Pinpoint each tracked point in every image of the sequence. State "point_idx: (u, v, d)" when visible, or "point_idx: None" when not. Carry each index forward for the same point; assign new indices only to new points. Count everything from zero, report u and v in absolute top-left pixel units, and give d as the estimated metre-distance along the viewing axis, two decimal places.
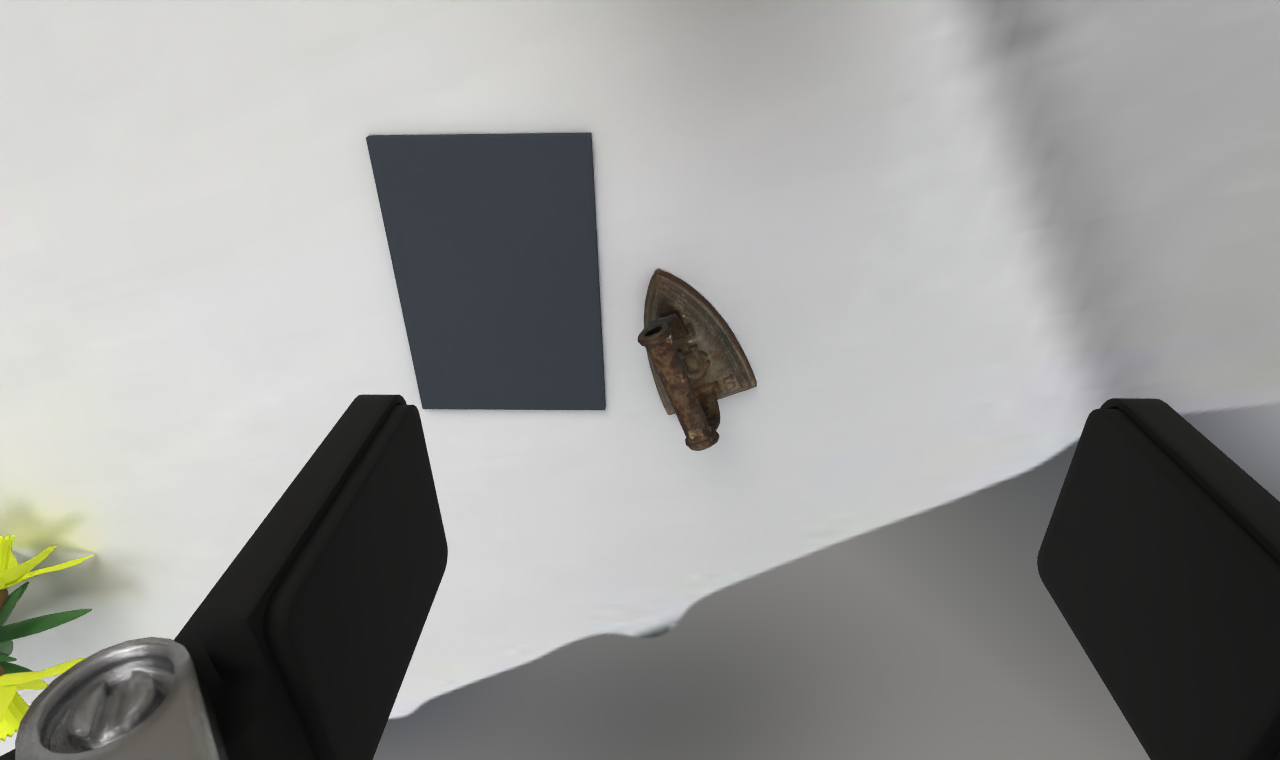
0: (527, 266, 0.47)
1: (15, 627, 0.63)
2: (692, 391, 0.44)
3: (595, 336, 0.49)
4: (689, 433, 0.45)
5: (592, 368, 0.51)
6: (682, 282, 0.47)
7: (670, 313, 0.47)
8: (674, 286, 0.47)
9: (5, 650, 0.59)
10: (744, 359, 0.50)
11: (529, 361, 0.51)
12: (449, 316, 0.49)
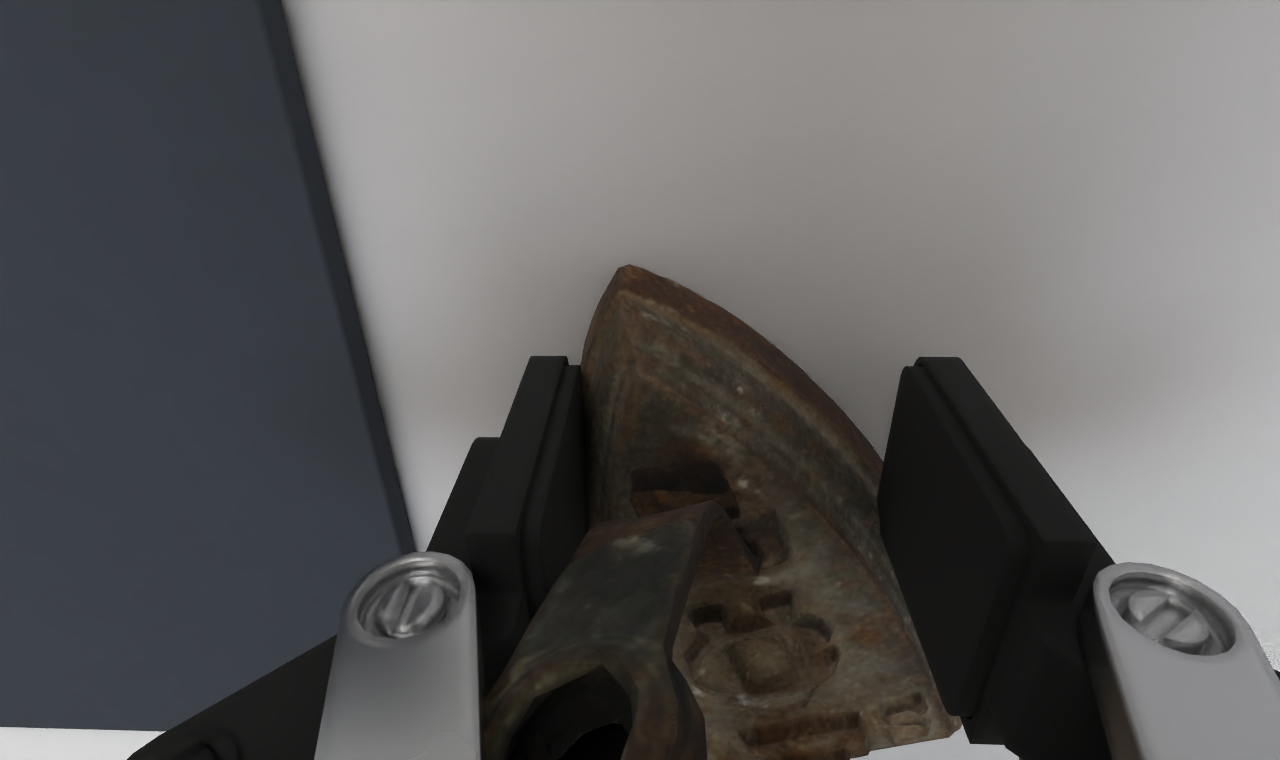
0: (8, 255, 0.10)
1: None
2: None
3: (373, 531, 0.13)
4: None
5: None
6: (736, 326, 0.11)
7: (681, 471, 0.10)
8: (701, 348, 0.10)
9: None
10: None
11: (152, 605, 0.14)
12: None
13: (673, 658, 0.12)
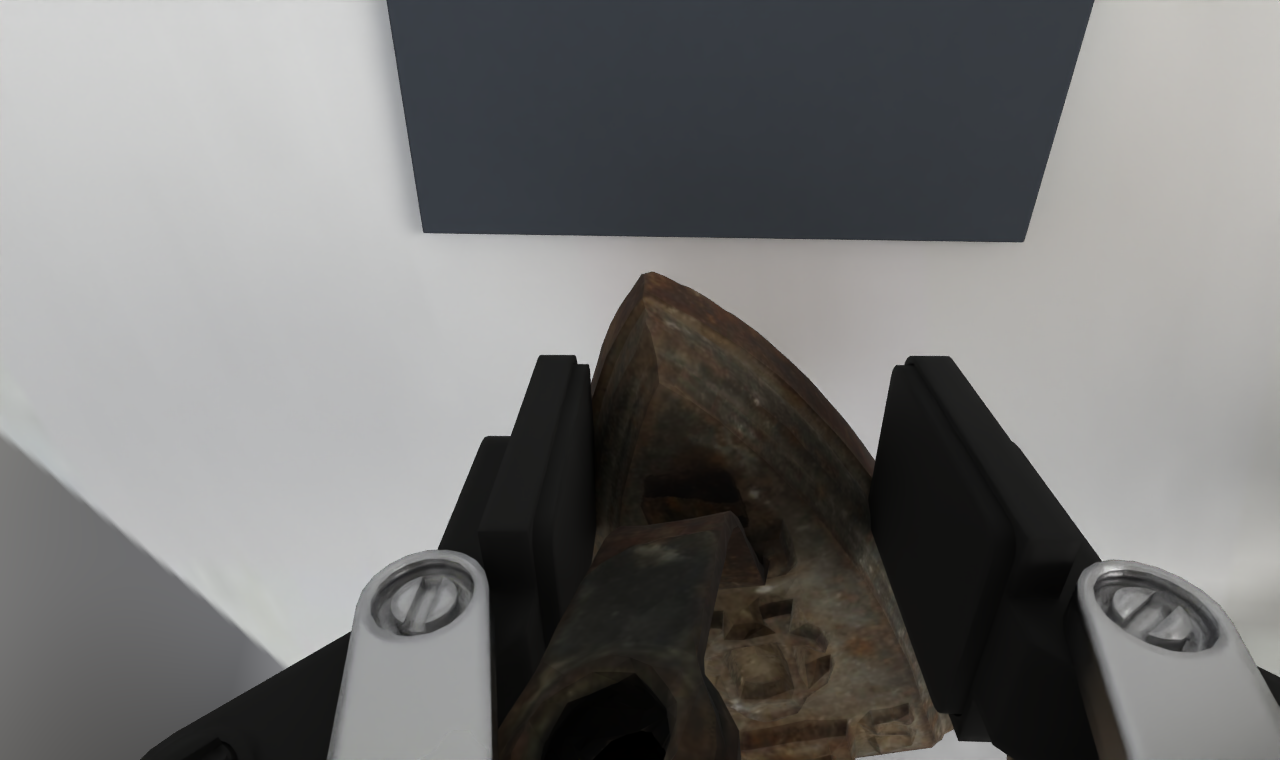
0: (779, 86, 0.21)
1: None
2: None
3: (606, 224, 0.23)
4: None
5: (527, 213, 0.23)
6: (754, 338, 0.11)
7: (694, 479, 0.10)
8: (720, 359, 0.10)
9: None
10: None
11: (534, 61, 0.21)
12: None
13: None
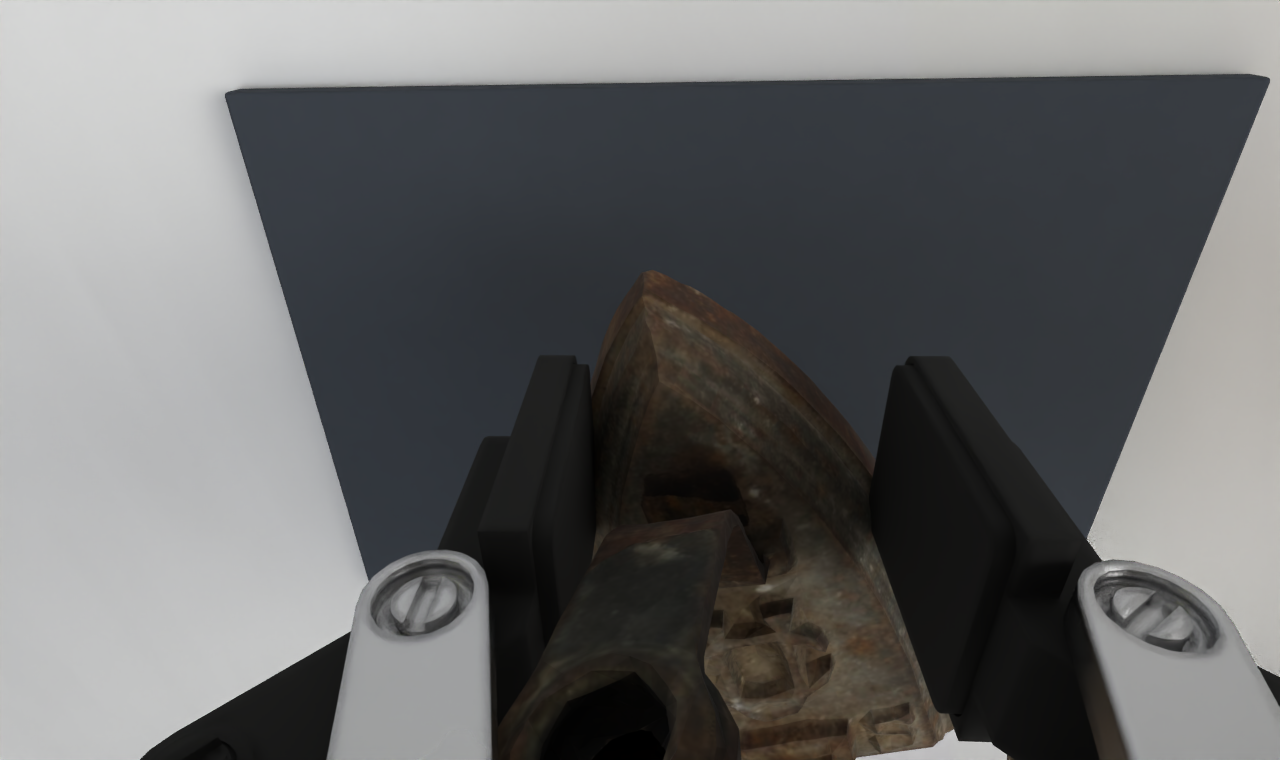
0: None
1: None
2: None
3: None
4: None
5: None
6: (754, 336, 0.11)
7: (694, 478, 0.10)
8: (720, 356, 0.10)
9: None
10: None
11: None
12: (619, 252, 0.15)
13: None
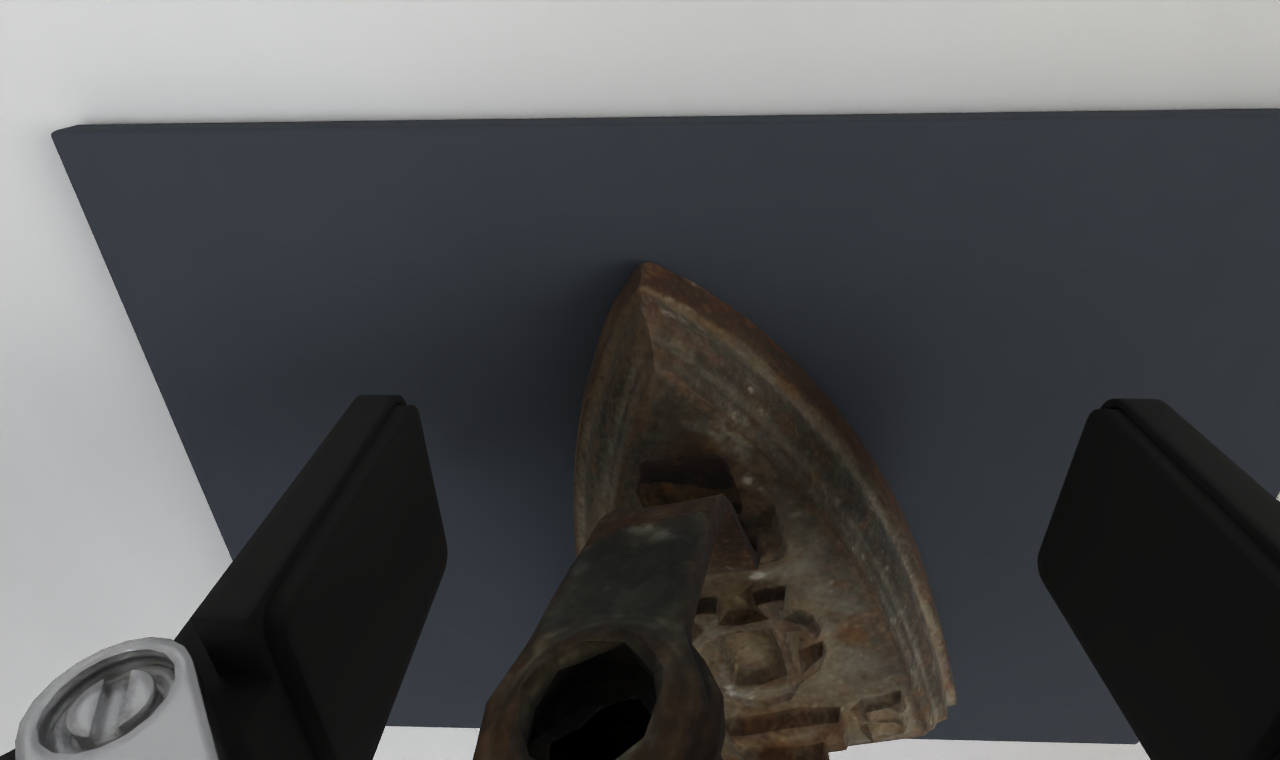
0: None
1: None
2: None
3: None
4: None
5: (441, 709, 0.17)
6: (749, 328, 0.11)
7: (688, 465, 0.10)
8: (715, 347, 0.10)
9: None
10: (939, 624, 0.13)
11: None
12: (594, 337, 0.11)
13: None
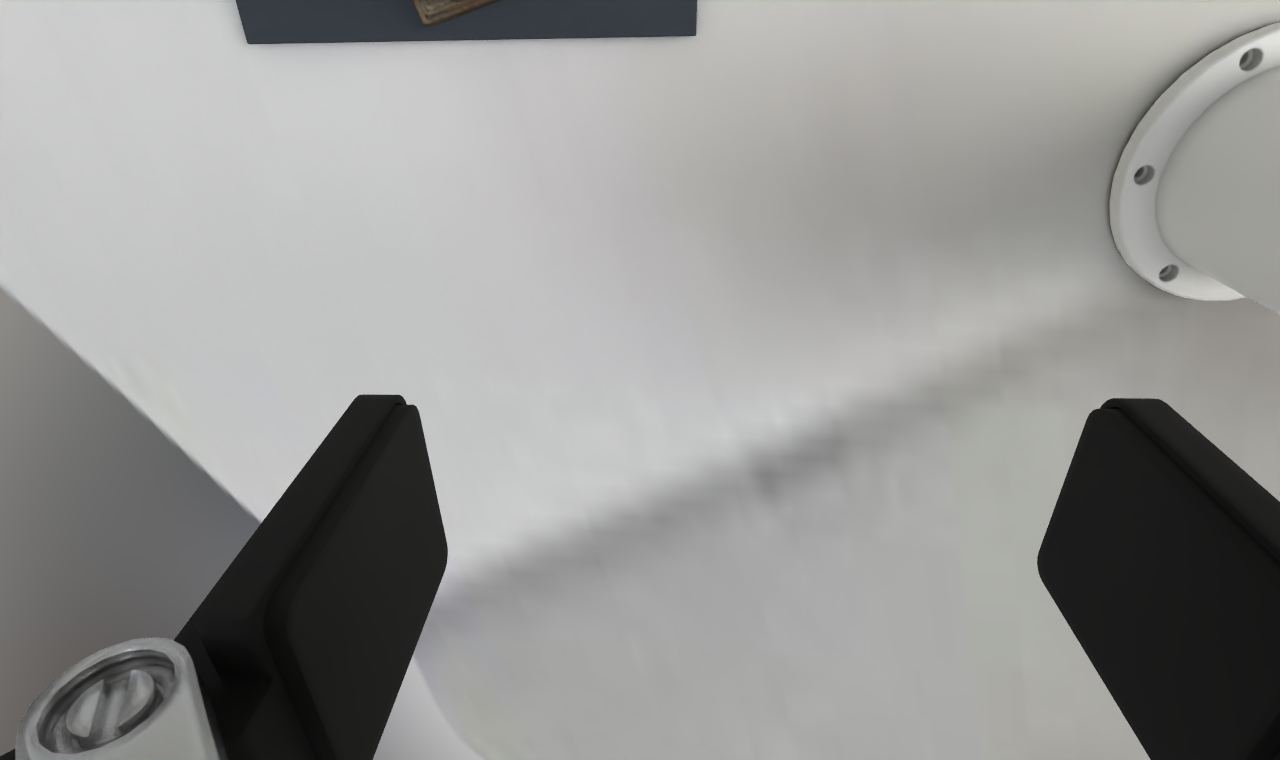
0: None
1: None
2: None
3: (382, 31, 0.31)
4: None
5: (321, 23, 0.31)
6: None
7: None
8: None
9: None
10: None
11: None
12: None
13: None
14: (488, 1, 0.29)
